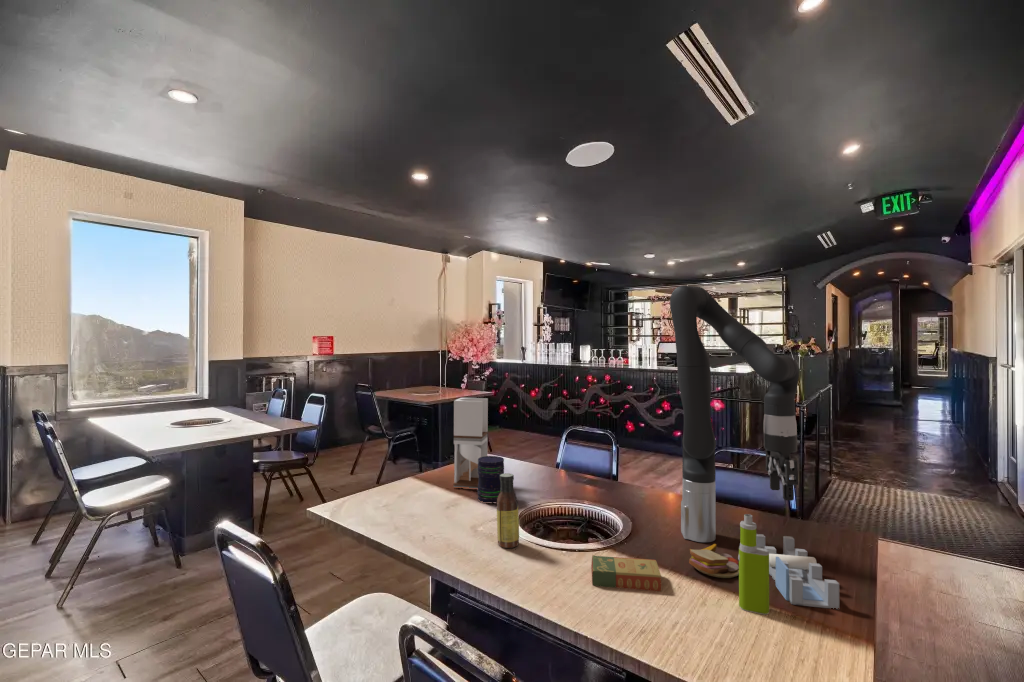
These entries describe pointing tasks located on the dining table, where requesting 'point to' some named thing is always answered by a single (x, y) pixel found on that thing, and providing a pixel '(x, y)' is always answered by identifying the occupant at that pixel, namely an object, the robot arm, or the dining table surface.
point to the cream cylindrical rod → (792, 561)
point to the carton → (626, 573)
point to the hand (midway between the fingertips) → (781, 494)
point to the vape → (752, 570)
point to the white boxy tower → (469, 439)
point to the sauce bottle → (507, 513)
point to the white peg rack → (801, 578)
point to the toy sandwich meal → (714, 562)
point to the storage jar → (489, 477)
